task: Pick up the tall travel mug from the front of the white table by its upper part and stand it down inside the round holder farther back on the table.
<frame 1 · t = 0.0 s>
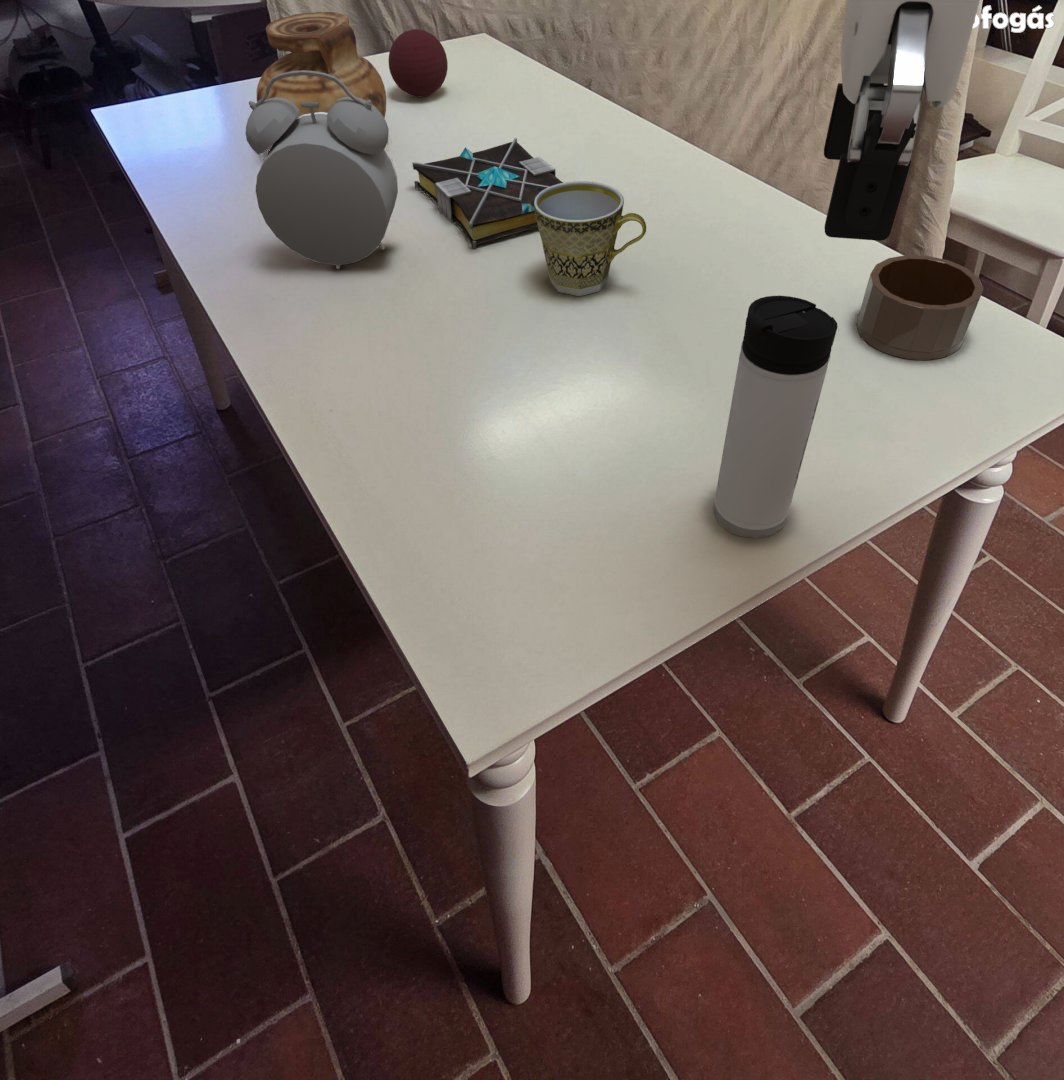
hand: (852, 194, 46), 30 cm above the table, tool pointing down, fingers open, 9 cm apart
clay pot: (333, 151, 129), on the table
ceramic cup: (590, 285, 99), on the table
holder: (908, 331, 89), on the table
book: (497, 204, 114), on the table
travel mug: (747, 515, 72), on the table
decorative ball: (422, 96, 144), on the table
alarm clock: (344, 260, 105), on the table
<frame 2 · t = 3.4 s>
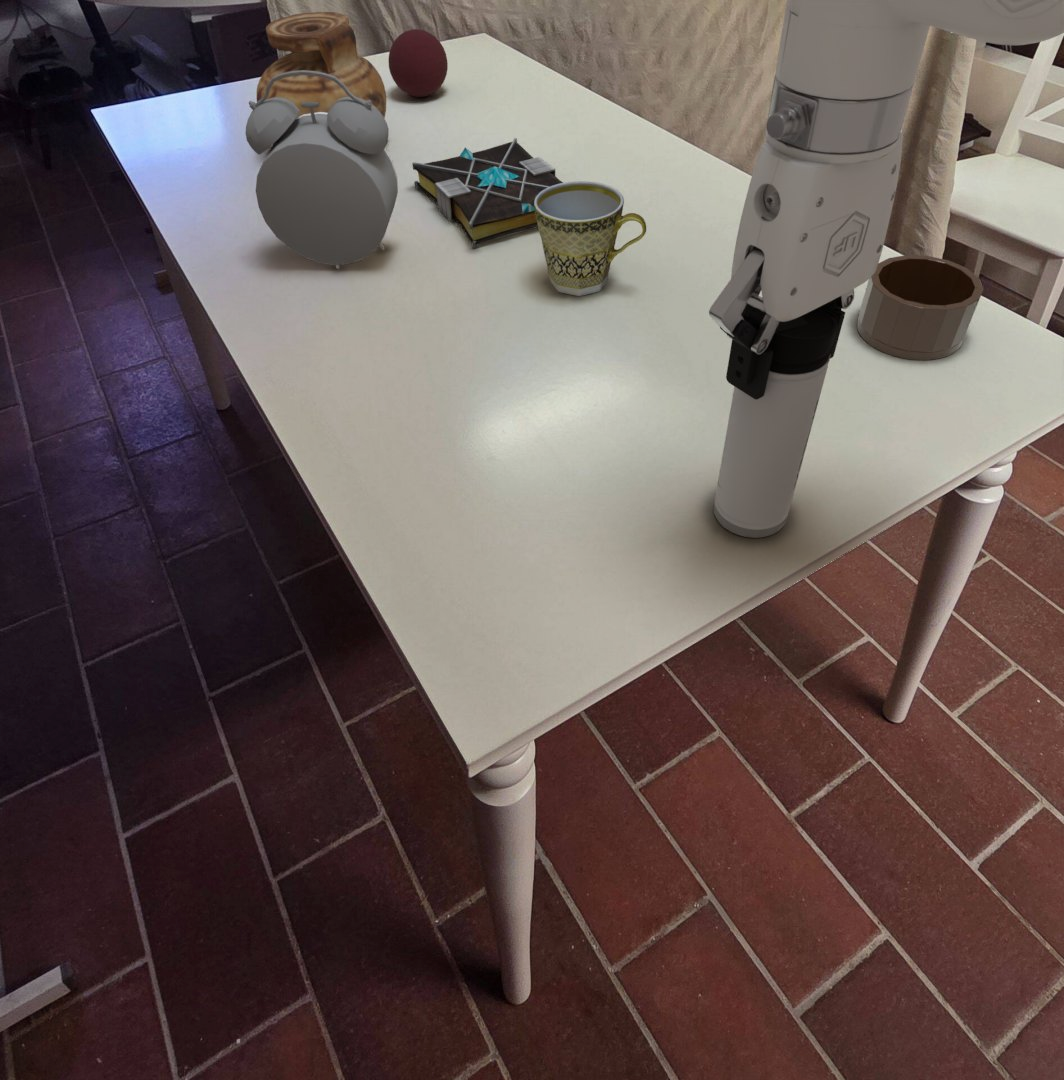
hand: (780, 368, 61), 15 cm above the table, tool pointing down, fingers closed on travel mug, 6 cm apart
travel mug: (747, 515, 72), on the table, touching gripper
everything else where it was.
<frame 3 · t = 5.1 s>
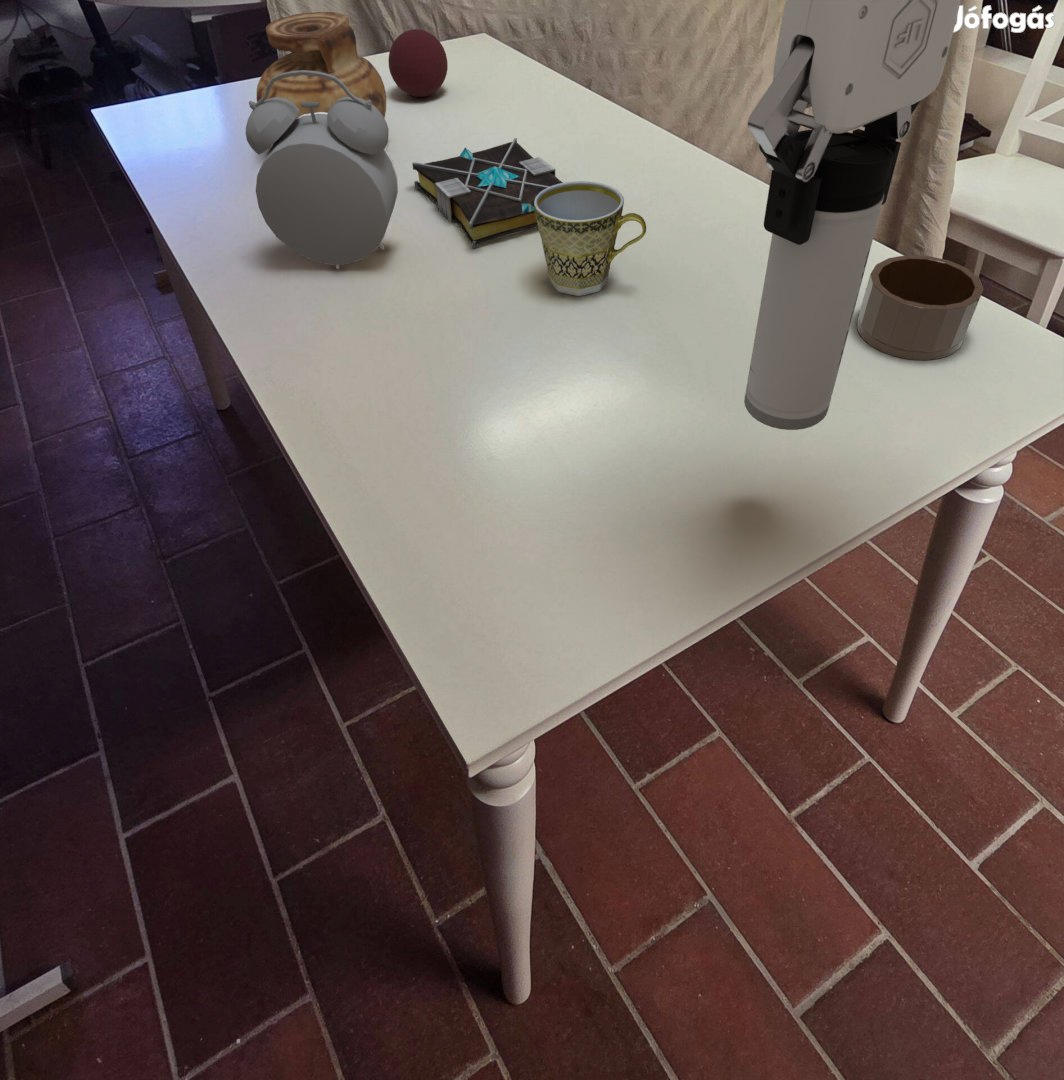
hand: (824, 215, 53), 26 cm above the table, tool pointing down, fingers closed on travel mug, 6 cm apart
travel mug: (782, 409, 64), point 11 cm above the table, touching gripper
everything else where it was.
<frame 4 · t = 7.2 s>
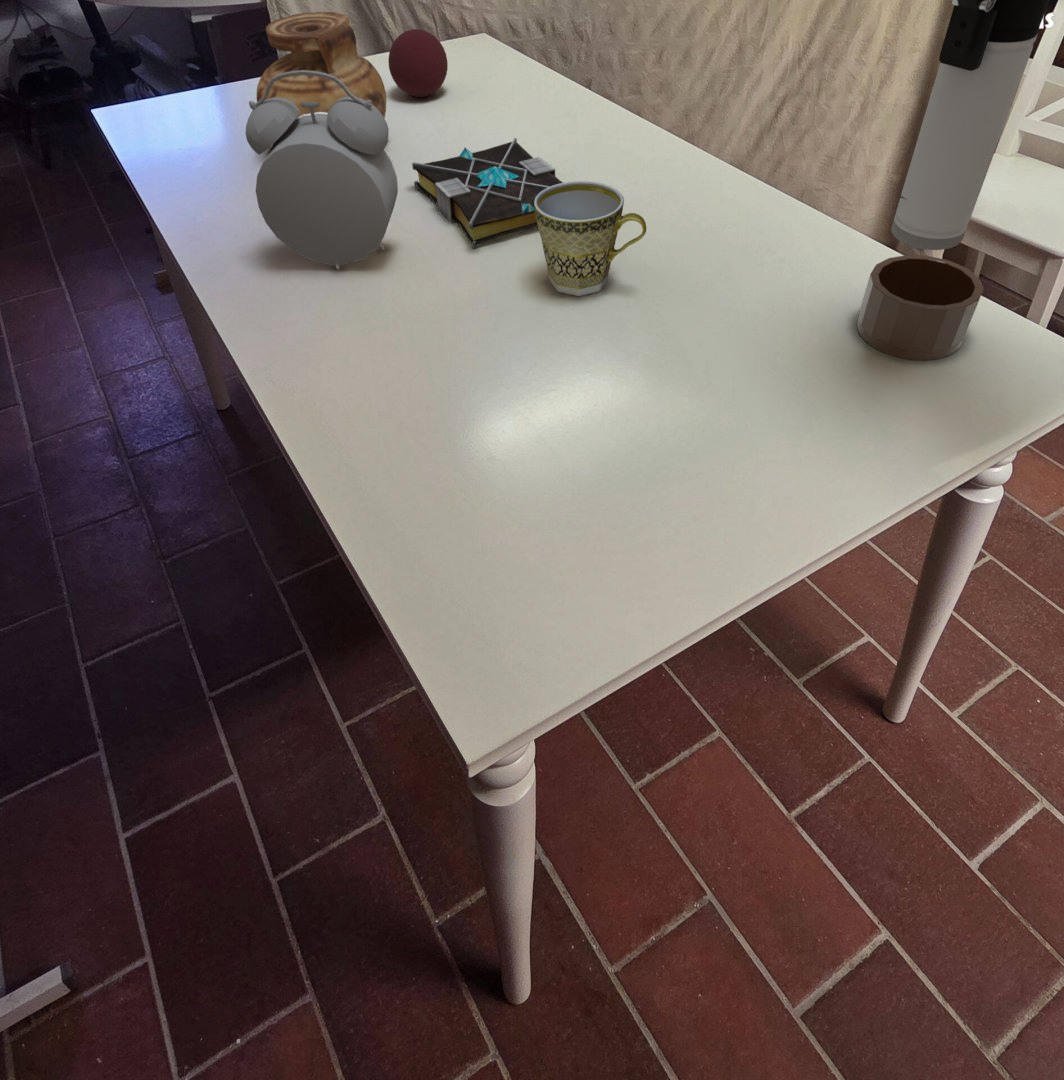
hand: (985, 52, 65), 29 cm above the table, tool pointing down, fingers closed on travel mug, 6 cm apart
travel mug: (923, 237, 76), point 13 cm above the table, touching gripper
everything else where it was.
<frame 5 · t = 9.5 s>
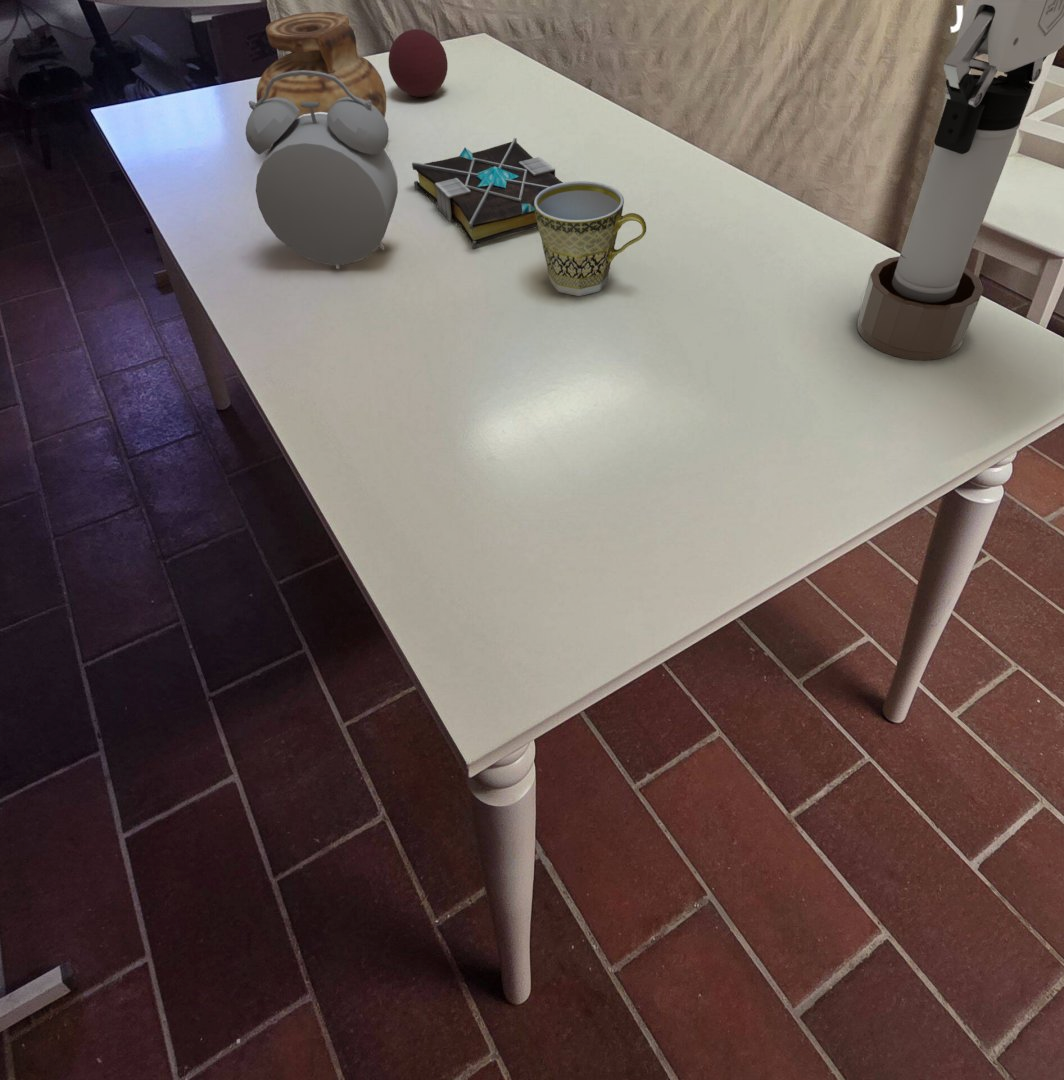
hand: (975, 136, 75), 20 cm above the table, tool pointing down, fingers closed on travel mug, 6 cm apart
travel mug: (920, 290, 86), point 5 cm above the table, touching gripper
everything else where it was.
when the fingers open (16 cm above the table, at t = 11.1 s): travel mug stays where it is, resting on holder.
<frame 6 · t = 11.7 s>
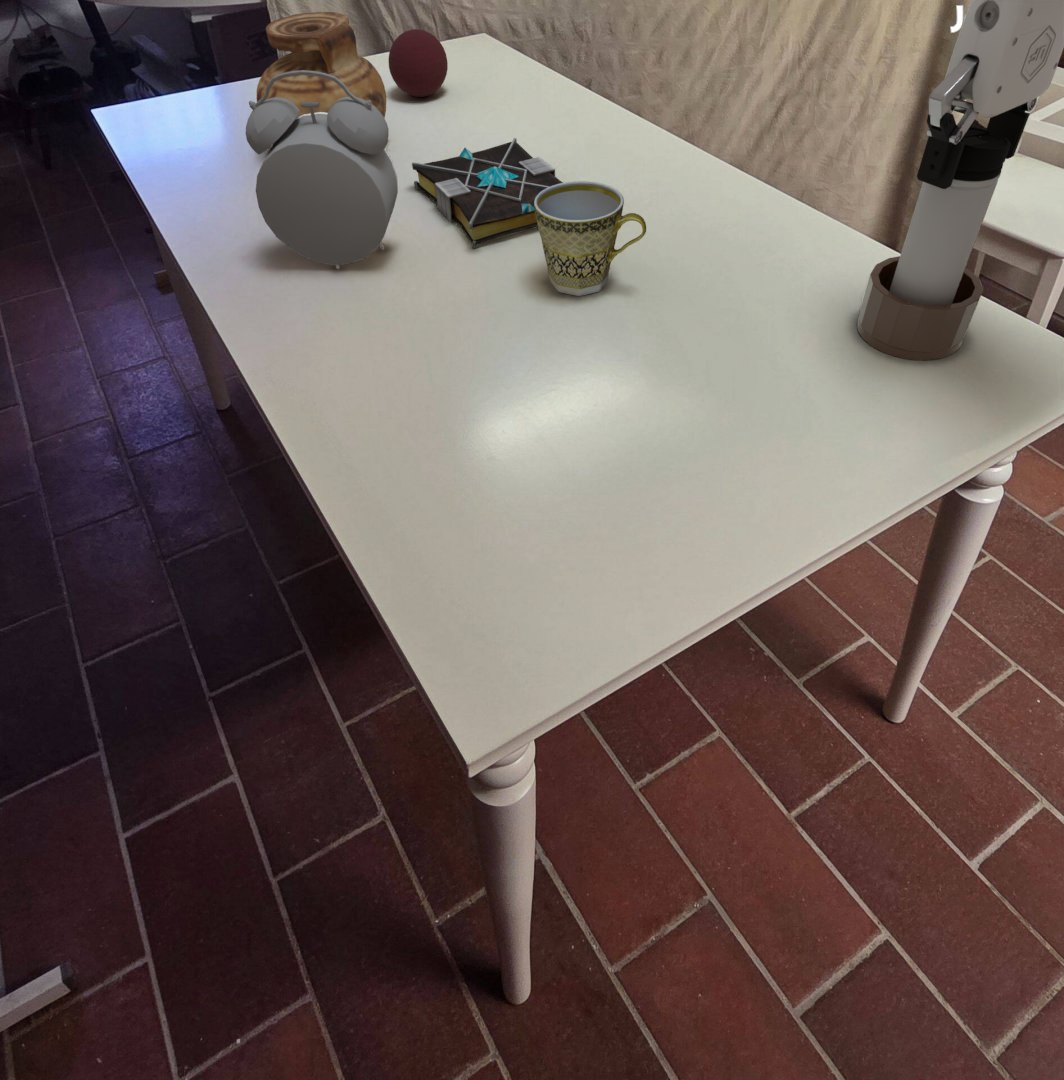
hand: (965, 168, 77), 17 cm above the table, tool pointing down, fingers open, 9 cm apart
travel mug: (909, 326, 89), point 1 cm above the table, touching holder
everything else where it was.
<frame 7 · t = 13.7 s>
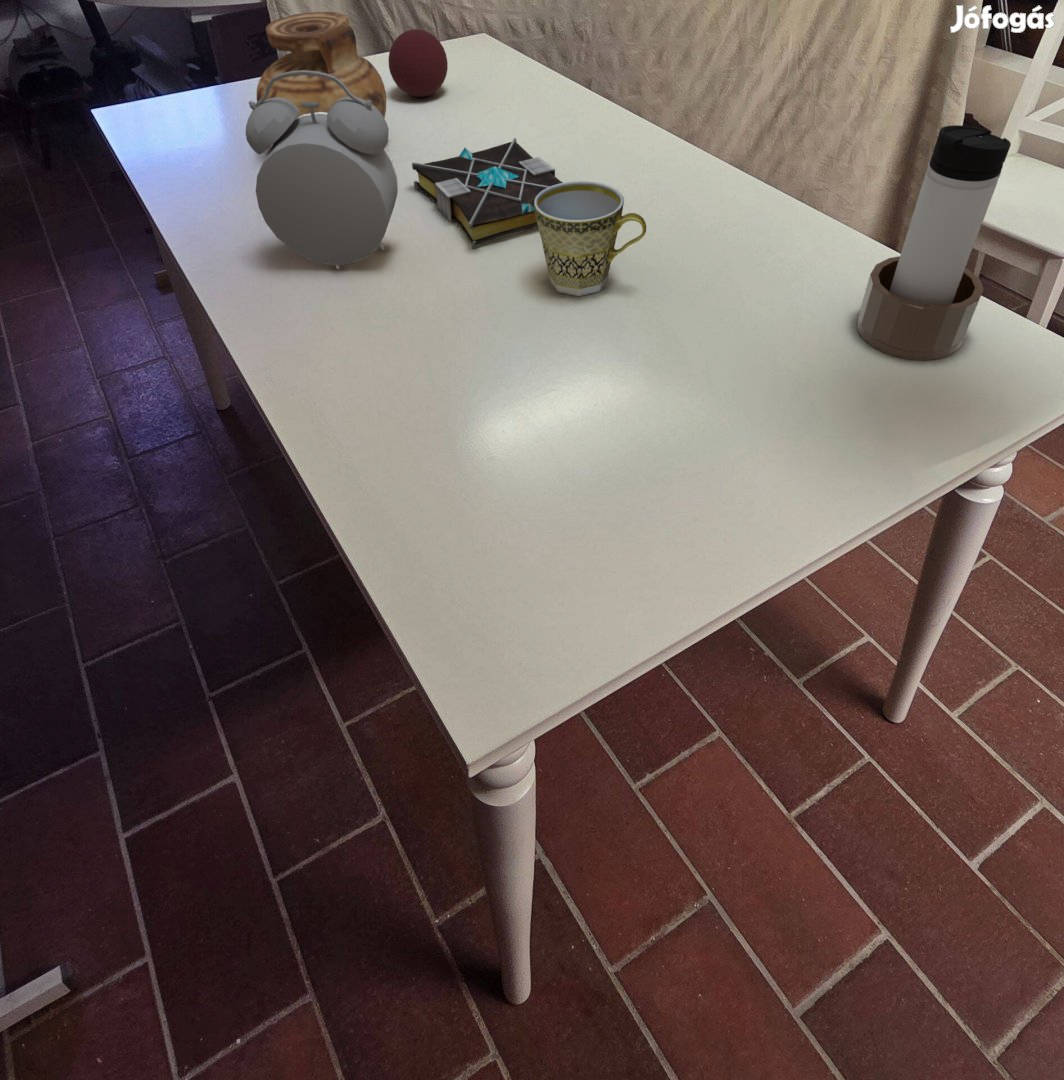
nothing on the table moved.
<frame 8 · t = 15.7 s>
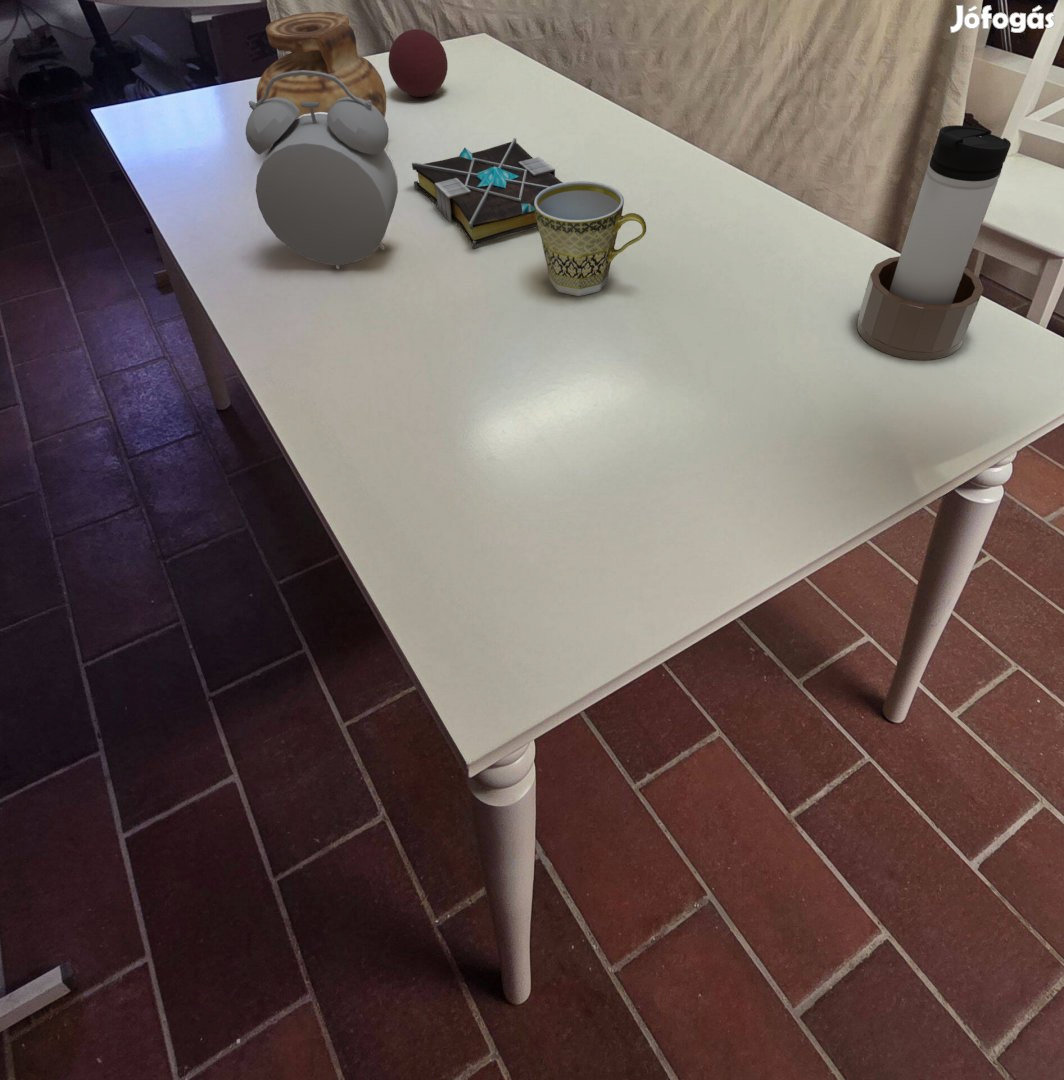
nothing on the table moved.
at the end: travel mug 0.4 cm off-centre in the holder, point 0.8 cm above the holder's base; travel mug tilted 0°; the gripper is holding nothing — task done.
